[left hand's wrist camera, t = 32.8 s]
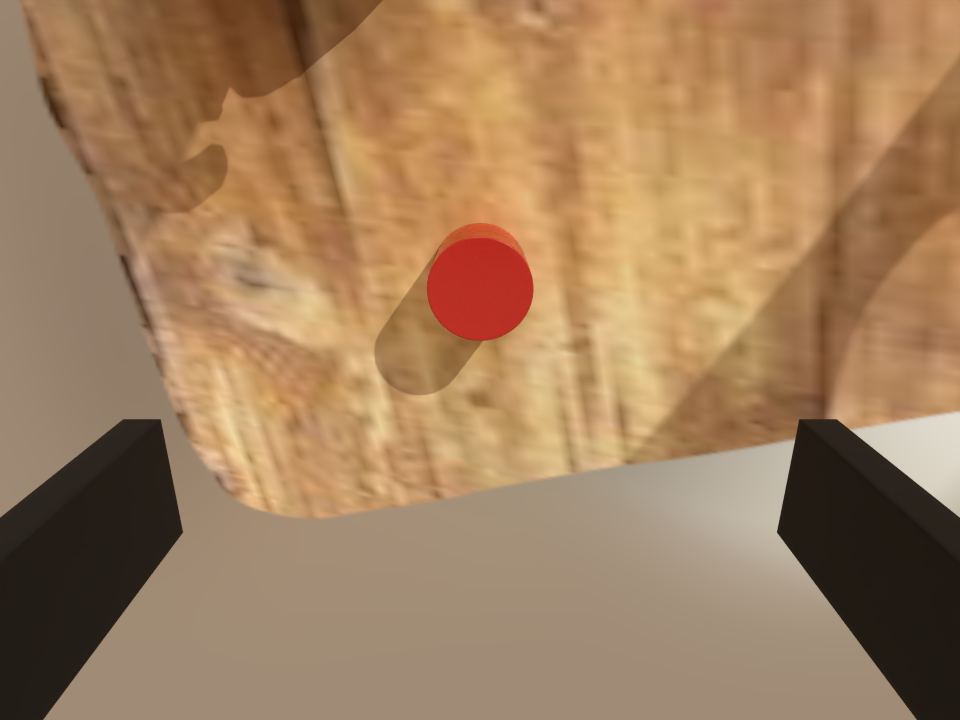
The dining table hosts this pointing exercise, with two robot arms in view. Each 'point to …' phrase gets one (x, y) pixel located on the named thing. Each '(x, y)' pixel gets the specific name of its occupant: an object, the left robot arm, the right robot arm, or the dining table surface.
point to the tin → (480, 283)
